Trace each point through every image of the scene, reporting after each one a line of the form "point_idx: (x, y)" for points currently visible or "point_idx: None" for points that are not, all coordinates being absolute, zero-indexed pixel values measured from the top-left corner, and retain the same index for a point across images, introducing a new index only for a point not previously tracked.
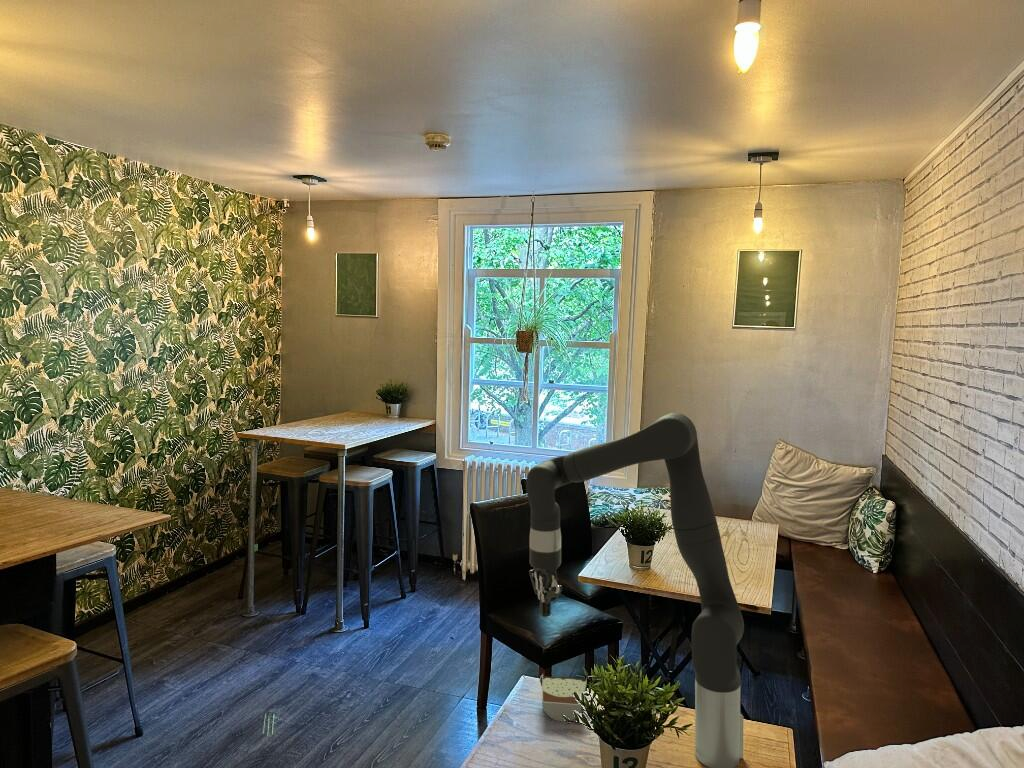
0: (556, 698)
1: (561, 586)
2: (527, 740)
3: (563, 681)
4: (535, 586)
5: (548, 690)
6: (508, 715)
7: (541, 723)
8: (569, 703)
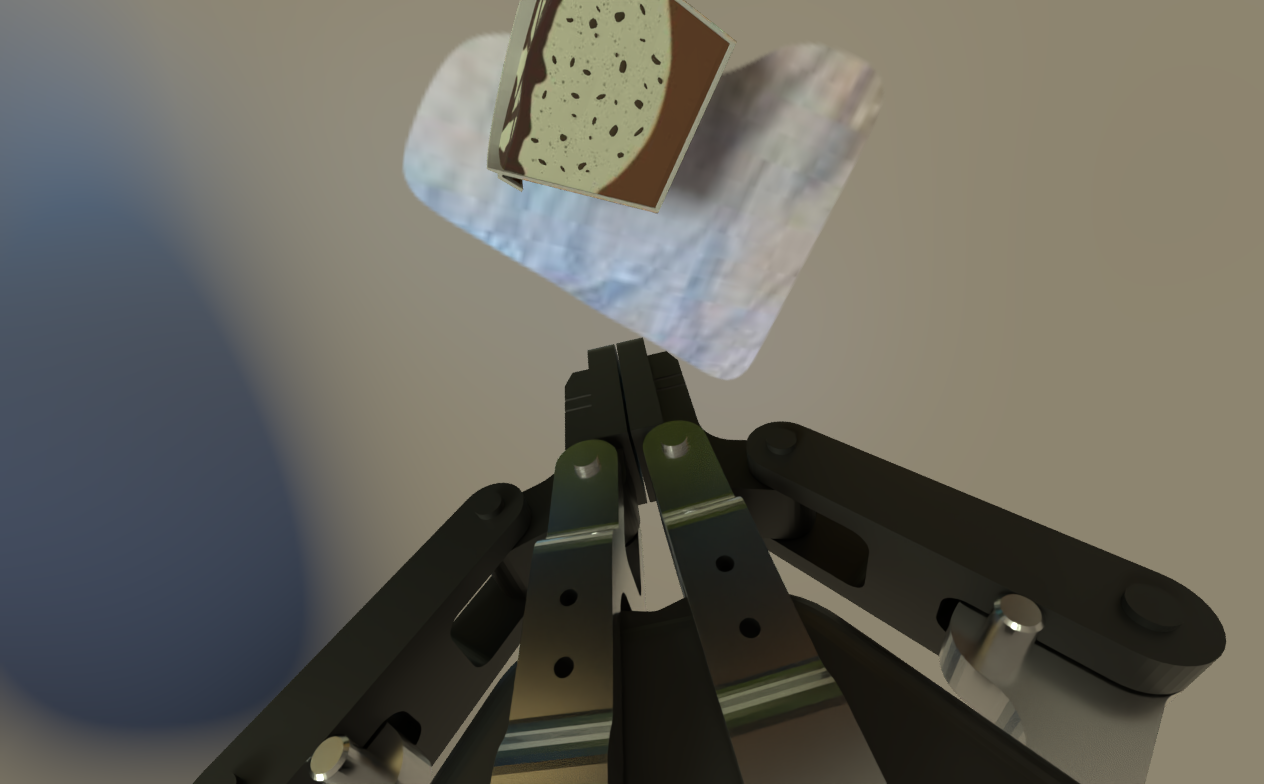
0: (657, 148)
1: (1214, 653)
2: (720, 259)
3: (559, 77)
4: (517, 642)
5: (601, 170)
6: (583, 287)
7: None
8: (703, 97)
